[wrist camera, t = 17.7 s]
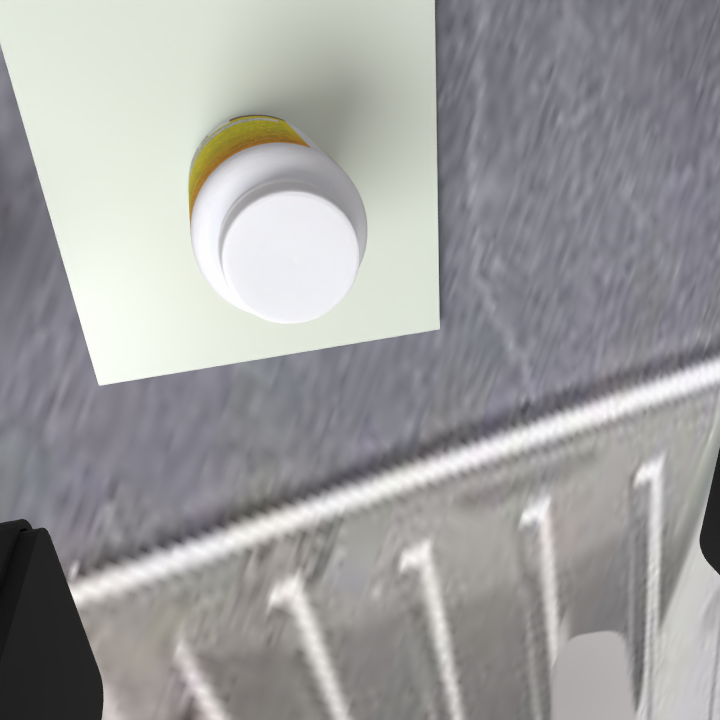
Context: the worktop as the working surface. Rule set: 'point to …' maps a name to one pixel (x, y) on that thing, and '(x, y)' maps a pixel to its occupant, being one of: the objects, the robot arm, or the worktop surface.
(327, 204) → the supplement bottle
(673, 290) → the worktop surface
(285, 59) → the sage mat
